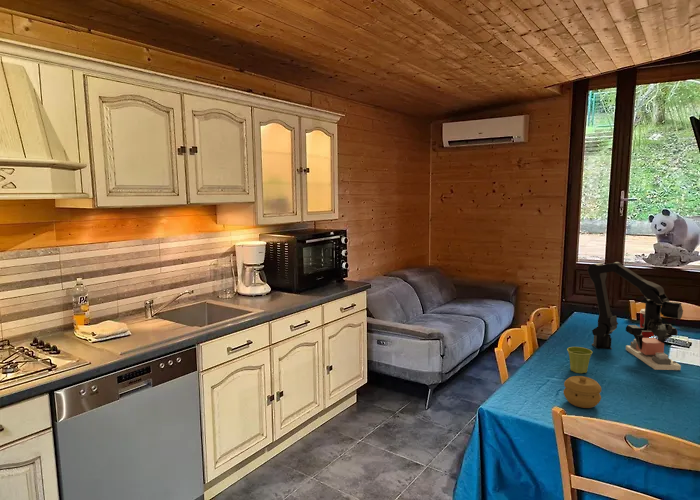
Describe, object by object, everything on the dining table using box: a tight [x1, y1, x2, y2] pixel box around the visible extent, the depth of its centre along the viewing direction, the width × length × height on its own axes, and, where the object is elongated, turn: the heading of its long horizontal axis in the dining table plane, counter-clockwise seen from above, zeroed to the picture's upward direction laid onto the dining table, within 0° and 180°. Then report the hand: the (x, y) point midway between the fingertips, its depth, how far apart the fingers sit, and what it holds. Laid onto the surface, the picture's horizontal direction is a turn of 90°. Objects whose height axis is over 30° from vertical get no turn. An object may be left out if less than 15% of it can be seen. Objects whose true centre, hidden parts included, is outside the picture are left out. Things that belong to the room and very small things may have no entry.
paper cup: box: [639, 308, 655, 338], centre depth 236 cm, size 8×8×14 cm
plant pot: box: [566, 346, 593, 374], centre depth 195 cm, size 9×9×9 cm
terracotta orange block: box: [636, 337, 665, 355], centre depth 207 cm, size 7×7×5 cm
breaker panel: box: [625, 341, 682, 371], centre depth 208 cm, size 10×24×4 cm, turn 176°
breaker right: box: [655, 352, 669, 359], centre depth 199 cm, size 3×3×2 cm
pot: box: [562, 375, 602, 409], centre depth 166 cm, size 12×12×10 cm
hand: (649, 349), depth 208 cm, fingers closed on terracotta orange block, 7 cm apart
